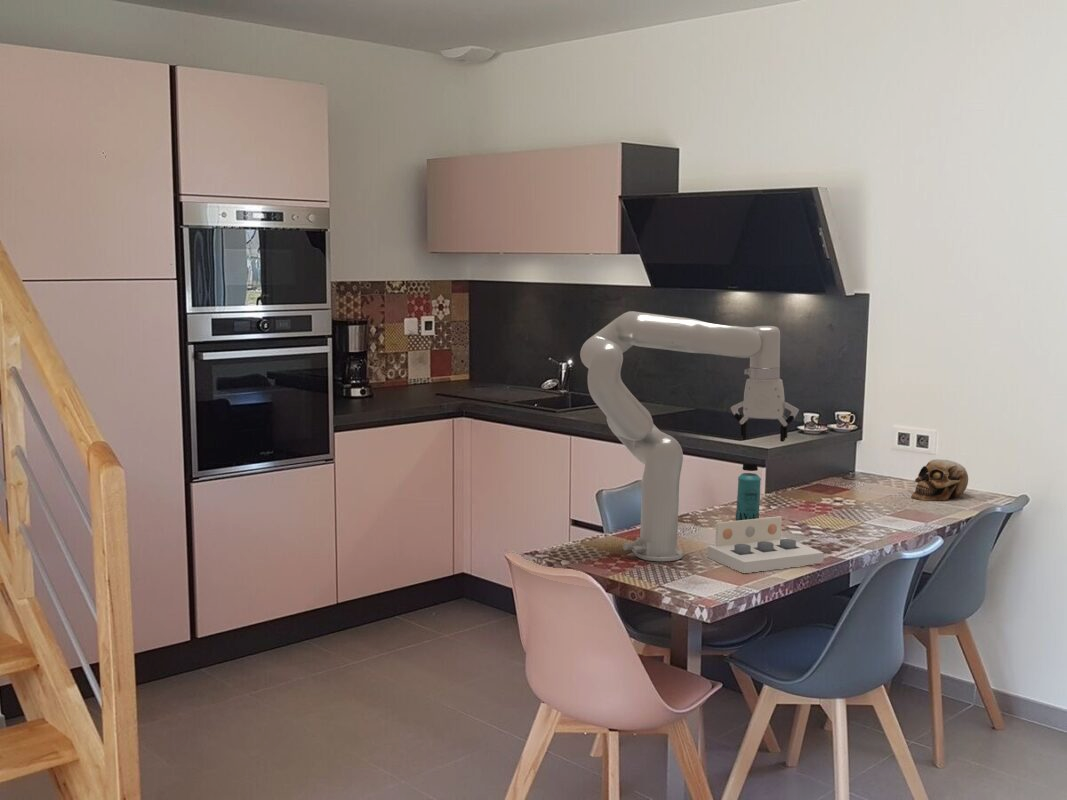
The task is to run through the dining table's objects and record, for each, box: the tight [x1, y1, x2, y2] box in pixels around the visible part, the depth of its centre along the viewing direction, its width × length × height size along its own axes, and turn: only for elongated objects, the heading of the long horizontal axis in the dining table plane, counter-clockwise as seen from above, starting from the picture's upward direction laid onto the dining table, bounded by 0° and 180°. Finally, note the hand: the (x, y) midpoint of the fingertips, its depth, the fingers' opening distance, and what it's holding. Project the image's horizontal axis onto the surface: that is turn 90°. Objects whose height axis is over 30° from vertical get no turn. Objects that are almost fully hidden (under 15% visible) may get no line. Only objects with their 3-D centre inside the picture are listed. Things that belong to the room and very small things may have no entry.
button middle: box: [757, 541, 774, 552], centre depth 272 cm, size 4×4×3 cm
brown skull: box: [910, 459, 969, 502], centre depth 351 cm, size 16×17×13 cm
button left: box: [734, 544, 751, 555], centre depth 270 cm, size 4×4×3 cm
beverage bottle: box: [734, 461, 762, 521], centre depth 300 cm, size 6×7×20 cm
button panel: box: [706, 515, 825, 574], centre depth 272 cm, size 24×16×9 cm, turn 114°
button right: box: [780, 538, 797, 550], centre depth 275 cm, size 4×4×3 cm
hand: (764, 439), depth 278 cm, fingers open, 9 cm apart
